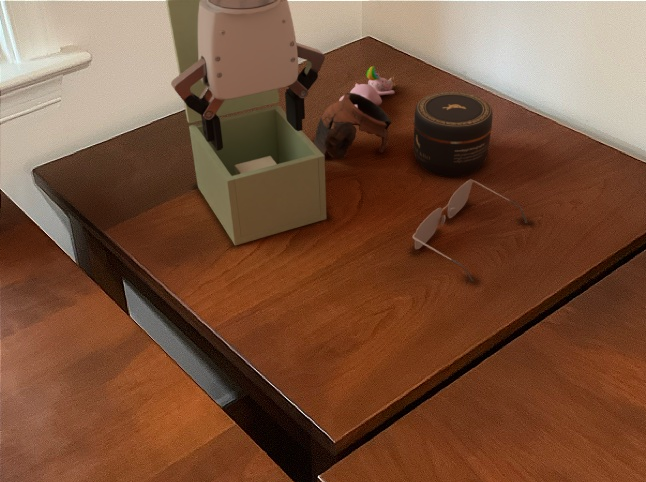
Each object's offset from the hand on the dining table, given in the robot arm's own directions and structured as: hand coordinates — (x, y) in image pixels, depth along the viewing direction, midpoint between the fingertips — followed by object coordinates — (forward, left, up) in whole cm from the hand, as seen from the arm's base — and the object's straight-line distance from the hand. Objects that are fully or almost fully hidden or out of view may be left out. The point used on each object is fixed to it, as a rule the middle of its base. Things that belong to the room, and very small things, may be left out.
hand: (255, 135), depth 94 cm
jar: (+26, -1, -10) cm, 28 cm away
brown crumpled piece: (+15, +7, -10) cm, 20 cm away
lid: (0, +8, +6) cm, 10 cm away
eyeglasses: (+19, -17, -10) cm, 27 cm away
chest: (0, +1, -10) cm, 10 cm away
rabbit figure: (+23, +17, -10) cm, 30 cm away
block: (0, 0, -9) cm, 9 cm away
